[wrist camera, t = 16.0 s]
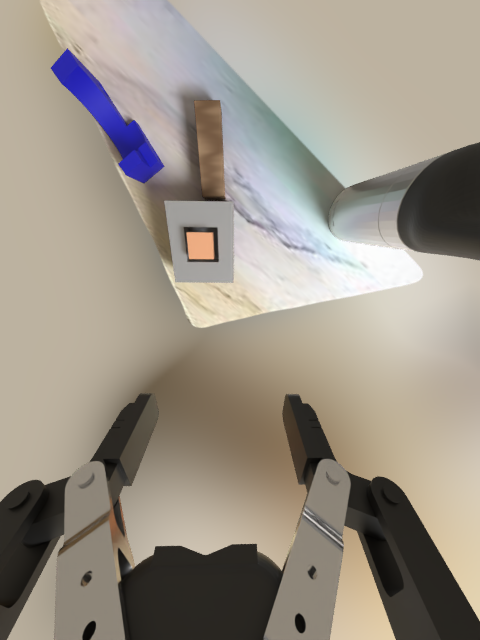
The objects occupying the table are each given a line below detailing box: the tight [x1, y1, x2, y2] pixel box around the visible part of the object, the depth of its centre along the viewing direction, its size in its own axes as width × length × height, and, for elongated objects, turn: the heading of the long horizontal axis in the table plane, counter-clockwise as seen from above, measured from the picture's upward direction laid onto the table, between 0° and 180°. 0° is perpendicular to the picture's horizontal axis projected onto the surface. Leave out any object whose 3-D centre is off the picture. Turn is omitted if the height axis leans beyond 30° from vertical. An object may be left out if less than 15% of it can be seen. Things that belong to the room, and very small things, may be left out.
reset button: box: [186, 232, 214, 259], centre depth 31 cm, size 4×4×3 cm
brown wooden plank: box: [194, 100, 225, 199], centre depth 30 cm, size 4×4×11 cm
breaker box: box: [164, 201, 234, 283], centre depth 34 cm, size 10×12×7 cm
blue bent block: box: [51, 48, 164, 183], centre depth 27 cm, size 12×4×6 cm, turn 31°
